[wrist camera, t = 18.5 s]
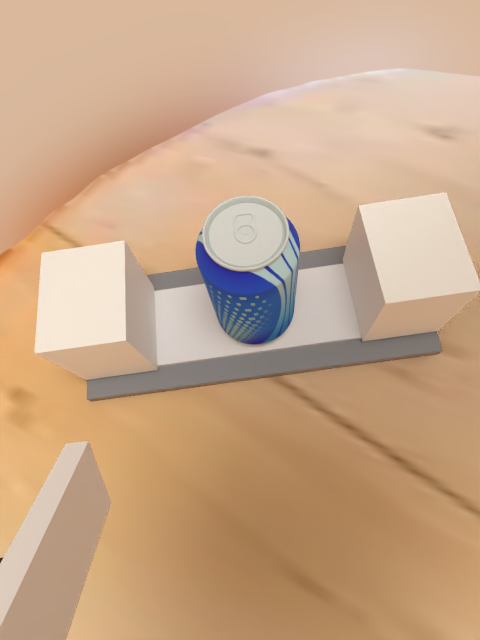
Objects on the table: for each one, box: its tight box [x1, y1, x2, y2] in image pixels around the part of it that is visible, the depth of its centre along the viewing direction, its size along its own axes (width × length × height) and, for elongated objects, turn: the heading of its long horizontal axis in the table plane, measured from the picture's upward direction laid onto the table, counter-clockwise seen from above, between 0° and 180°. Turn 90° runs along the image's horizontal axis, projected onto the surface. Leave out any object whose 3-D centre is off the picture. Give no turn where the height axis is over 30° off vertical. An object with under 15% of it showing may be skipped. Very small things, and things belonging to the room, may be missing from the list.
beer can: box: [196, 196, 300, 345], centre depth 38 cm, size 8×8×16 cm
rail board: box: [35, 192, 480, 401], centre depth 42 cm, size 38×14×12 cm, turn 97°
